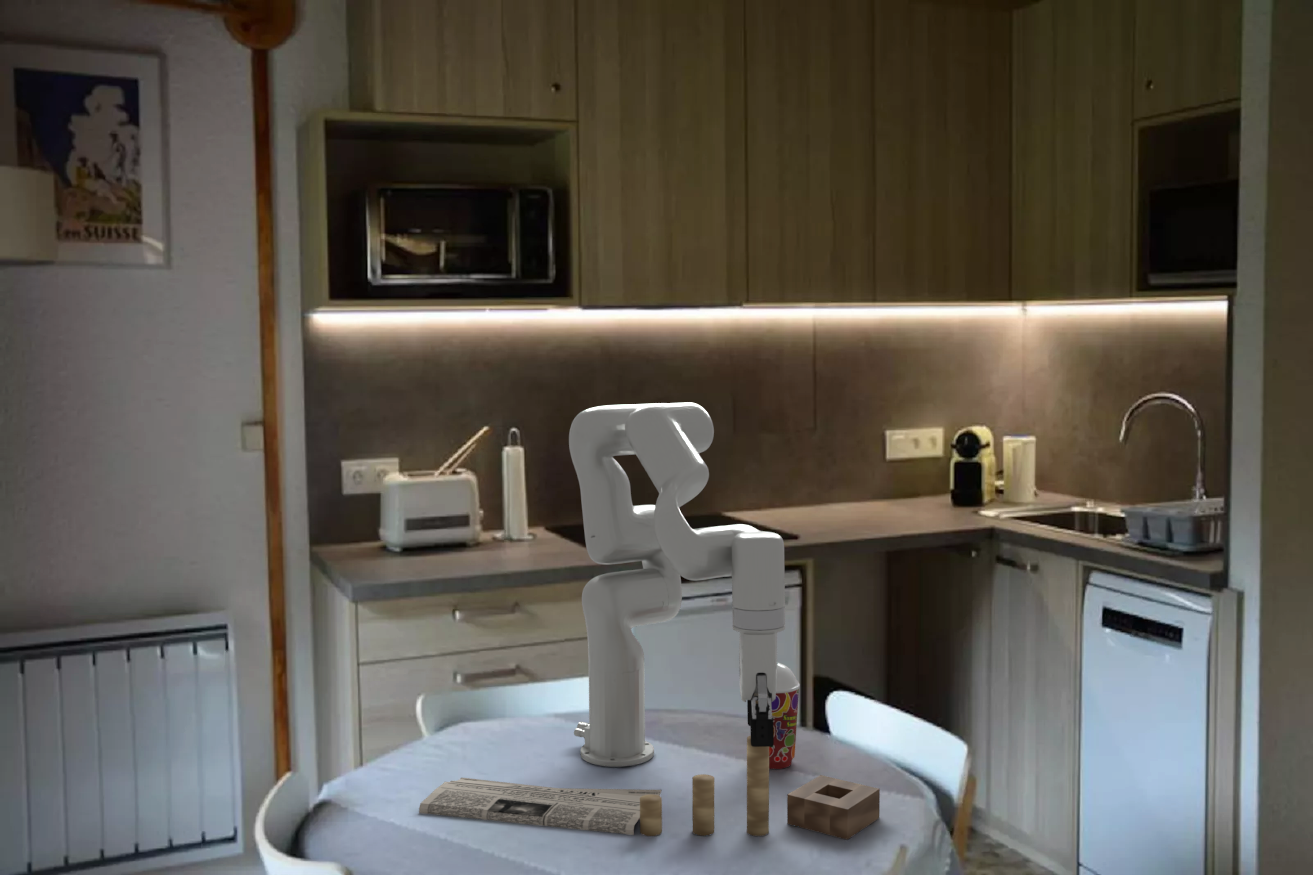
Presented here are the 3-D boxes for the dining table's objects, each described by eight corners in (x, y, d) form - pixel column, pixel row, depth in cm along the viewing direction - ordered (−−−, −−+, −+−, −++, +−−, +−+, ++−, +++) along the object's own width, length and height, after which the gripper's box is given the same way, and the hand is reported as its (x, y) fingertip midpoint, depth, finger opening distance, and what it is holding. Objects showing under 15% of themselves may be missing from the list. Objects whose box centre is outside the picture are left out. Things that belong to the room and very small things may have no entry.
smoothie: (796, 774, 213) (797, 654, 211) (746, 770, 215) (746, 652, 213) (801, 757, 221) (801, 641, 219) (752, 754, 223) (752, 639, 221)
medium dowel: (688, 832, 189) (688, 779, 189) (700, 825, 192) (700, 772, 191) (706, 837, 188) (706, 783, 187) (718, 830, 190) (718, 777, 189)
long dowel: (742, 832, 189) (742, 739, 188) (754, 825, 192) (754, 733, 190) (761, 838, 187) (761, 743, 186) (772, 830, 190) (773, 737, 188)
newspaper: (419, 816, 197) (418, 793, 197) (452, 787, 209) (452, 766, 209) (642, 839, 188) (642, 816, 188) (664, 808, 200) (664, 786, 200)
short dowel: (635, 832, 190) (635, 799, 189) (649, 825, 192) (649, 792, 192) (652, 837, 188) (652, 804, 187) (666, 831, 190) (666, 797, 190)
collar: (787, 824, 192) (787, 794, 192) (820, 803, 200) (820, 775, 200) (847, 839, 186) (847, 809, 186) (879, 818, 194) (879, 788, 194)
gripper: (730, 606, 195) (732, 718, 196) (734, 632, 178) (736, 755, 179) (780, 605, 195) (782, 717, 196) (789, 631, 178) (791, 754, 179)
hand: (760, 735), depth 188 cm, fingers open, 9 cm apart
